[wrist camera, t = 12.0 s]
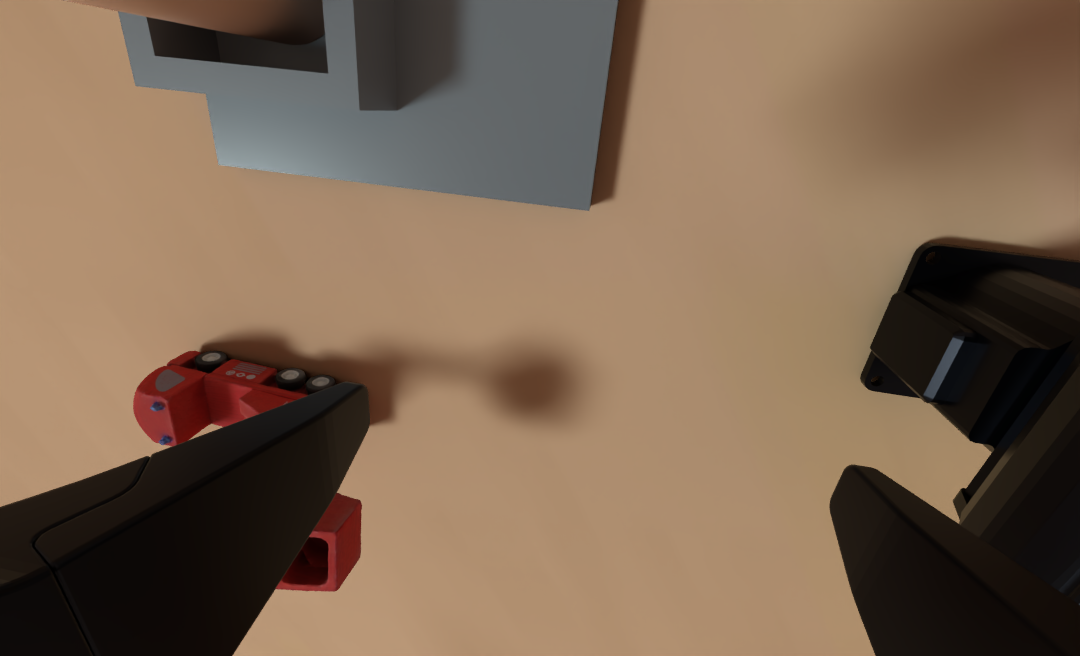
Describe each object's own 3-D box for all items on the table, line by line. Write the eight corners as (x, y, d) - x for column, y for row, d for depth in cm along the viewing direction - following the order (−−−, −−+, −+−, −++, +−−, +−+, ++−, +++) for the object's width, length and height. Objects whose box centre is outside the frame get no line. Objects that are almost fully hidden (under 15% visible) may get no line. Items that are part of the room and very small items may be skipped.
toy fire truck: (187, 342, 26) (-28, 457, 17) (429, 396, 25) (330, 546, 17) (196, 393, 28) (1, 523, 19) (425, 446, 27) (332, 608, 18)
